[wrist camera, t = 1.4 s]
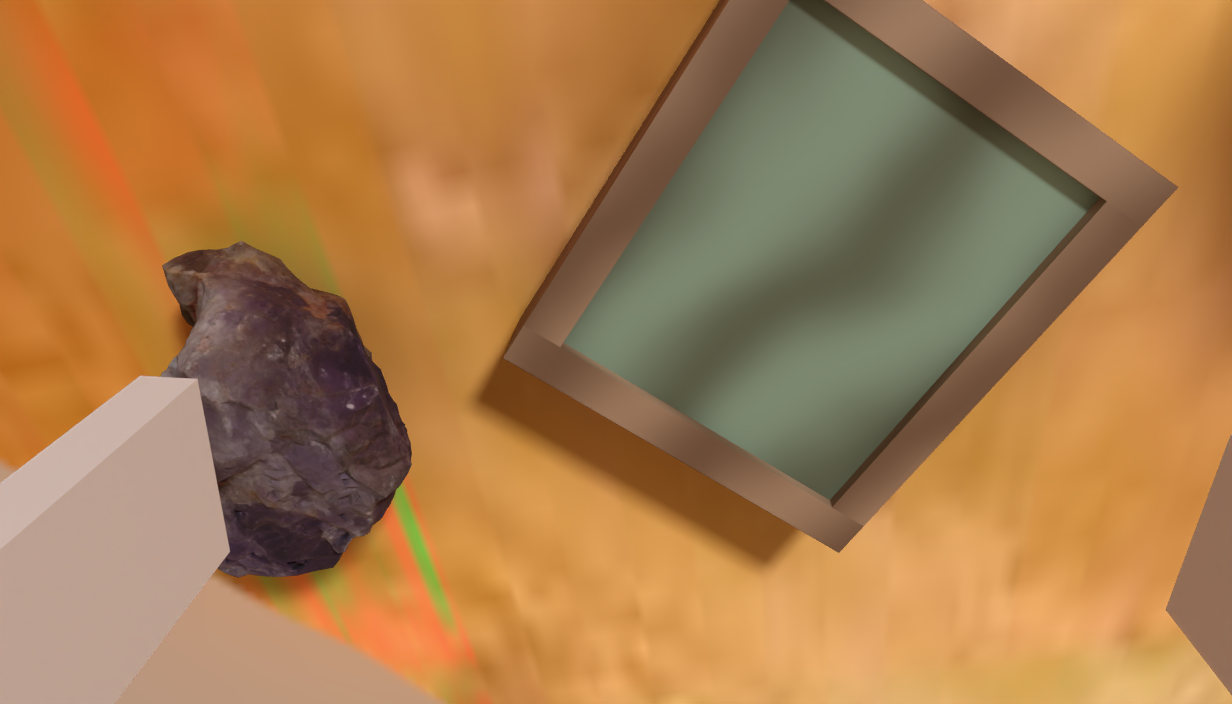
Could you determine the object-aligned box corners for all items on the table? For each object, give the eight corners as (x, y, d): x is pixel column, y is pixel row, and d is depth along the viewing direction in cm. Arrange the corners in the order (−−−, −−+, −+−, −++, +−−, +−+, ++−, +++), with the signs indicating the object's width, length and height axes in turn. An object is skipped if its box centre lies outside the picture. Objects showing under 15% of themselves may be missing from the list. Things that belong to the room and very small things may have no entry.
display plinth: (520, 318, 34) (503, 357, 31) (775, -88, 28) (790, -97, 24) (823, 498, 37) (838, 552, 33) (1120, 162, 30) (1178, 187, 27)
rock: (249, 458, 39) (464, 467, 38) (147, 606, 32) (410, 621, 31) (171, 222, 33) (427, 227, 32) (23, 341, 26) (349, 351, 25)
